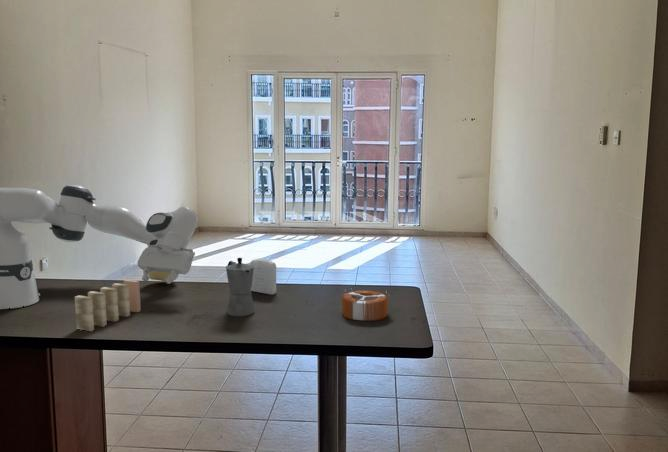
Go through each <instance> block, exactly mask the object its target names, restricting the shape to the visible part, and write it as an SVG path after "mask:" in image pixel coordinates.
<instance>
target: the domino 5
mask: <svg viewBox="0 0 668 452" xmlns="http://www.w3.org/2000/svg"><path fill="white" fill-rule="evenodd" d="M122 281H123V284H126V285H128V286H129V304H130V312H133V313H139V312H141V311H142V308H141V290H140V287H141V286H140V280H136V279H129V278H127V279H124V280H122Z"/></svg>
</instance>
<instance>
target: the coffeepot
mask: <svg viewBox="0 0 668 452" xmlns="http://www.w3.org/2000/svg"><path fill="white" fill-rule="evenodd" d="M236 260H237V262H235V261H233V260H230V261H228V264H227V265H225V269H226V277H227V282H228V288H229V294H228V301H227V309H226V311H227V315H229V316H232V317H246V316H250V315H252V314H254V313H255V308H254V301H253V297H252V296H253V295H252V291H251V287H252V279H253V271H254V266H253V265H250V263H249V264H248V263H243V258H242V257H237V258H236Z"/></svg>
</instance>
